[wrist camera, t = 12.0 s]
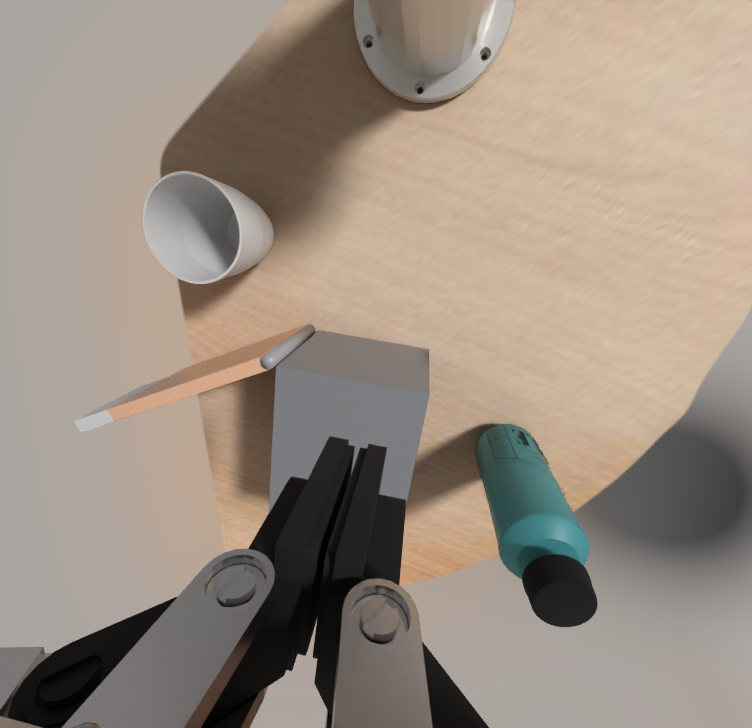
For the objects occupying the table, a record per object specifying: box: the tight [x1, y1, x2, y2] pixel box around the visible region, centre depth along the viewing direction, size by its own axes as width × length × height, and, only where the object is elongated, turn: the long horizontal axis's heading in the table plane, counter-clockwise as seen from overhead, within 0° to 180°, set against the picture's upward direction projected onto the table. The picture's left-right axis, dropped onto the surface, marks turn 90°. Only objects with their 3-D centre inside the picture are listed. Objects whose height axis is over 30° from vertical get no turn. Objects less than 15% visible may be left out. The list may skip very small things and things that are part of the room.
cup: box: [142, 171, 274, 284], centre depth 33 cm, size 8×8×10 cm
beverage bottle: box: [476, 424, 597, 627], centre depth 32 cm, size 6×7×20 cm
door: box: [74, 324, 315, 432], centre depth 37 cm, size 21×1×11 cm, turn 111°
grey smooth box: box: [269, 331, 429, 512], centre depth 37 cm, size 16×12×12 cm
